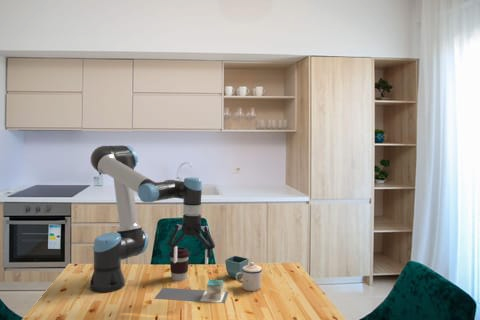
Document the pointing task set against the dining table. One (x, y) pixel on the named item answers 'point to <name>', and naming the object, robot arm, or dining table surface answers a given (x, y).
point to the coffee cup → (179, 264)
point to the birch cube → (215, 289)
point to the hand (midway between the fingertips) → (190, 263)
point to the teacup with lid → (251, 277)
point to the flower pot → (235, 266)
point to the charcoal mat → (188, 295)
